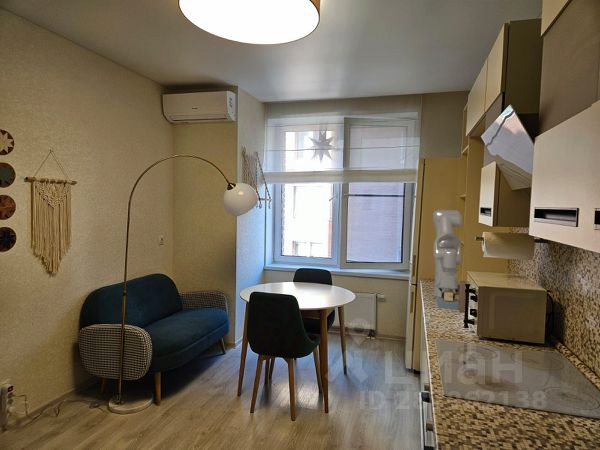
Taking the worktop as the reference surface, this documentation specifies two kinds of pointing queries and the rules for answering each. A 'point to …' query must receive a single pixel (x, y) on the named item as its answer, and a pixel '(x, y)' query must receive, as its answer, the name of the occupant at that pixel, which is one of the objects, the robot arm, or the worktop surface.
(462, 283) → the wooden block
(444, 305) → the slate base block
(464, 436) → the worktop surface
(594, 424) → the worktop surface
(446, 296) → the oak cube
